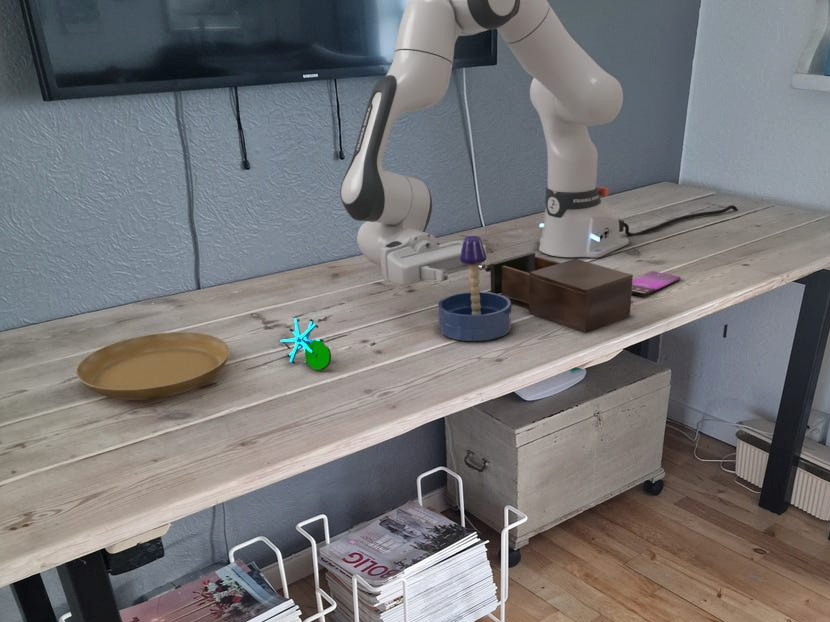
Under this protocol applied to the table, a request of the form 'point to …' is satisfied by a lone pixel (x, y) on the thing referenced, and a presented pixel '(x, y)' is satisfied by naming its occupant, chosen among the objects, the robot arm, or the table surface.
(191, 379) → the plant saucer
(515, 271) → the drawer
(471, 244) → the toy lamp
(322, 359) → the stick construction toy
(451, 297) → the bowl
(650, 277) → the smartphone
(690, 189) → the table surface
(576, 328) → the cabinet
